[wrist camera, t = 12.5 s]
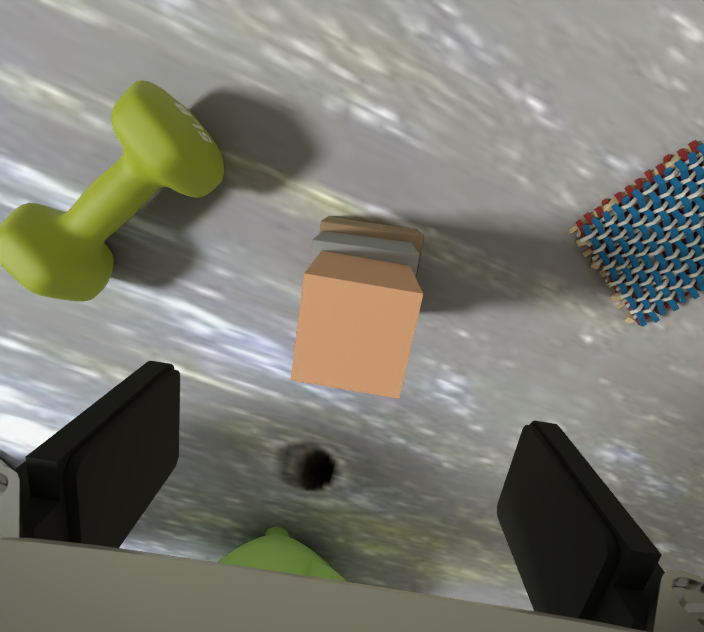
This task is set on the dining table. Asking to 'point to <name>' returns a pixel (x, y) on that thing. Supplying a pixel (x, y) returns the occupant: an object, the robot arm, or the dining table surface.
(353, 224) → the tower base
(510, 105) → the dining table surface
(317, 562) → the teapot
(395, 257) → the tower top
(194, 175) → the dumbbell
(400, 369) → the terracotta block
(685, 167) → the woven mat
